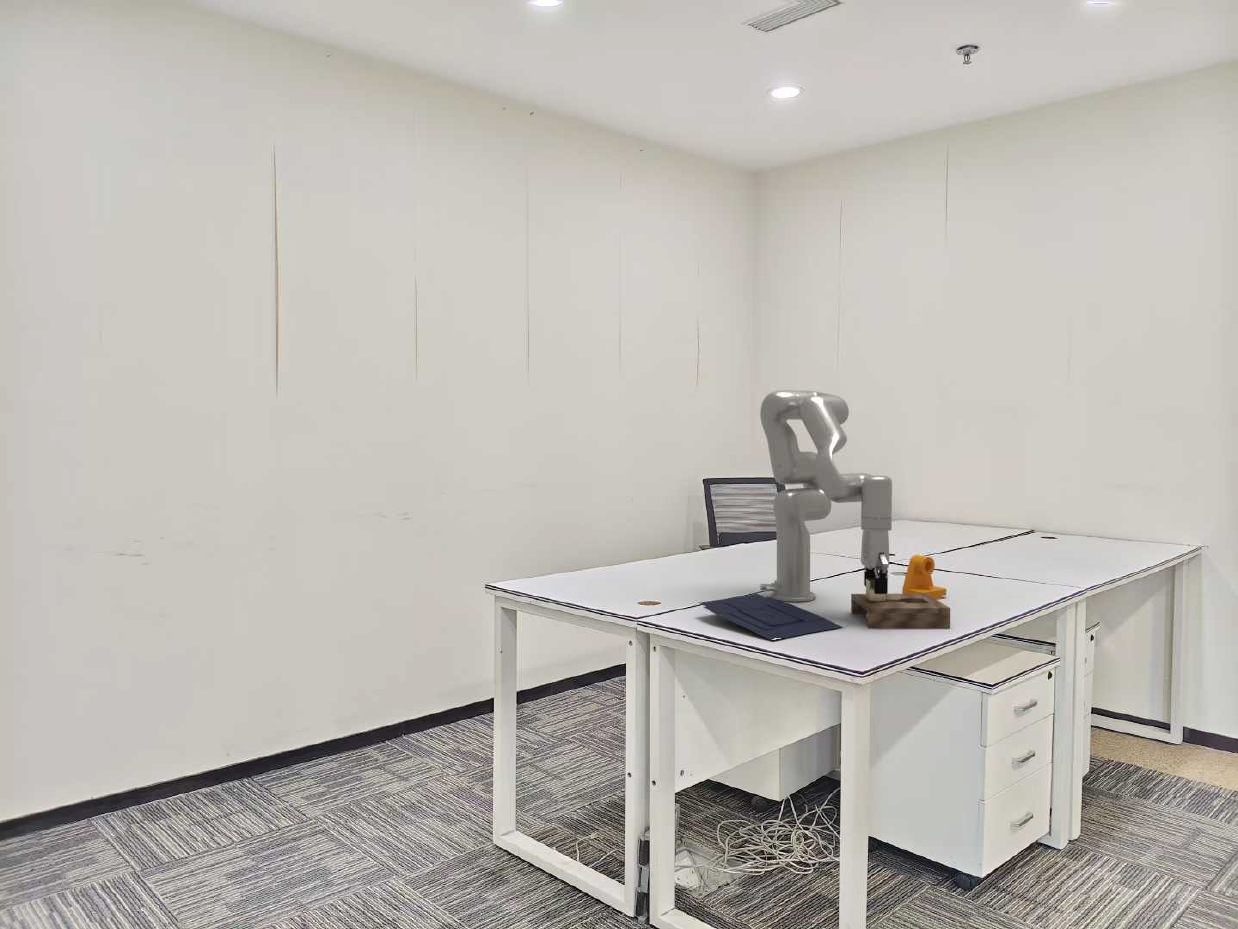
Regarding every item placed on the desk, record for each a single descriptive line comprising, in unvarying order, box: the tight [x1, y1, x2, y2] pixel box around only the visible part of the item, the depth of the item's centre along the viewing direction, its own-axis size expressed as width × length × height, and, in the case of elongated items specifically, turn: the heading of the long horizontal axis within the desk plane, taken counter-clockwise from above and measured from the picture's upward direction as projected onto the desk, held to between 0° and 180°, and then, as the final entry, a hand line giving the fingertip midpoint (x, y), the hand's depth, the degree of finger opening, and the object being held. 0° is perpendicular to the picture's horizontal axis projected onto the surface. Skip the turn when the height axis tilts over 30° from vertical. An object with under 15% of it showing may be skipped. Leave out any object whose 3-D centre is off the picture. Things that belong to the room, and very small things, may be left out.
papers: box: [699, 593, 843, 641], centre depth 228 cm, size 24×30×4 cm
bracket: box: [901, 554, 947, 601], centre depth 258 cm, size 11×7×12 cm, turn 122°
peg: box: [865, 579, 886, 621], centre depth 230 cm, size 4×4×10 cm
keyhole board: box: [850, 593, 951, 629], centre depth 230 cm, size 20×18×5 cm
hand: (875, 590), depth 230 cm, fingers open, 9 cm apart
